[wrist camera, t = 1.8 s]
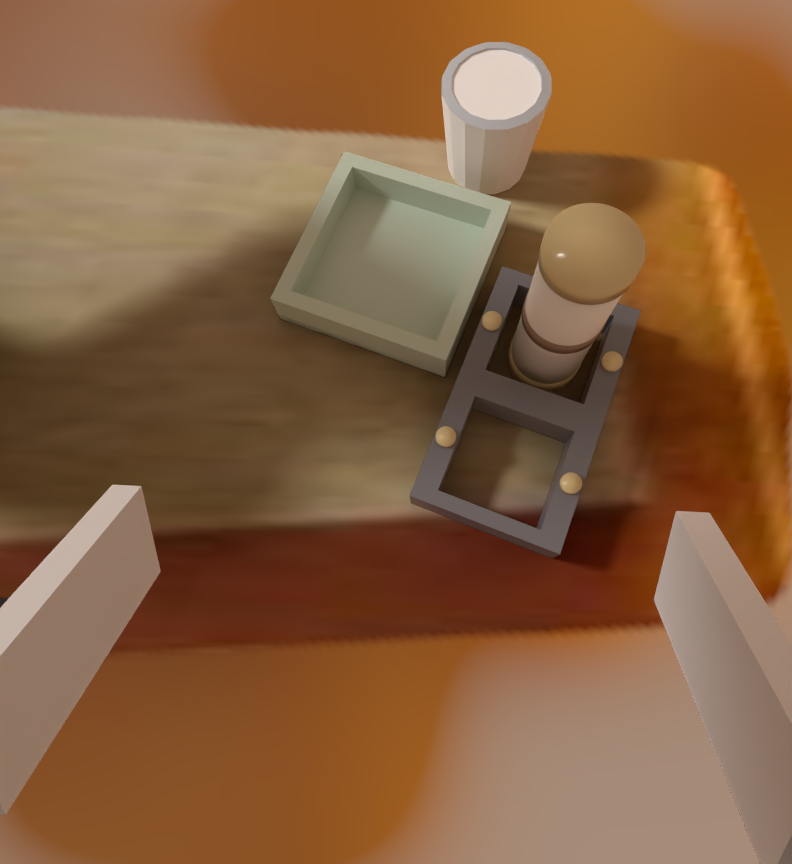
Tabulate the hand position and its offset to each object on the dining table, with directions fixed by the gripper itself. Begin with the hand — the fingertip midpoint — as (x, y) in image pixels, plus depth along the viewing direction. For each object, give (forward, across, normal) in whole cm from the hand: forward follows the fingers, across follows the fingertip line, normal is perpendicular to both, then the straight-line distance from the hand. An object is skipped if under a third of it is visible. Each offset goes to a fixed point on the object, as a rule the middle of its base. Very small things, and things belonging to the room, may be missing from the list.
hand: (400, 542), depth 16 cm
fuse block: (+24, +6, -8) cm, 26 cm away
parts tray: (+30, -3, 0) cm, 31 cm away
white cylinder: (+37, +3, +6) cm, 38 cm away
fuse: (+26, +7, -5) cm, 28 cm away
